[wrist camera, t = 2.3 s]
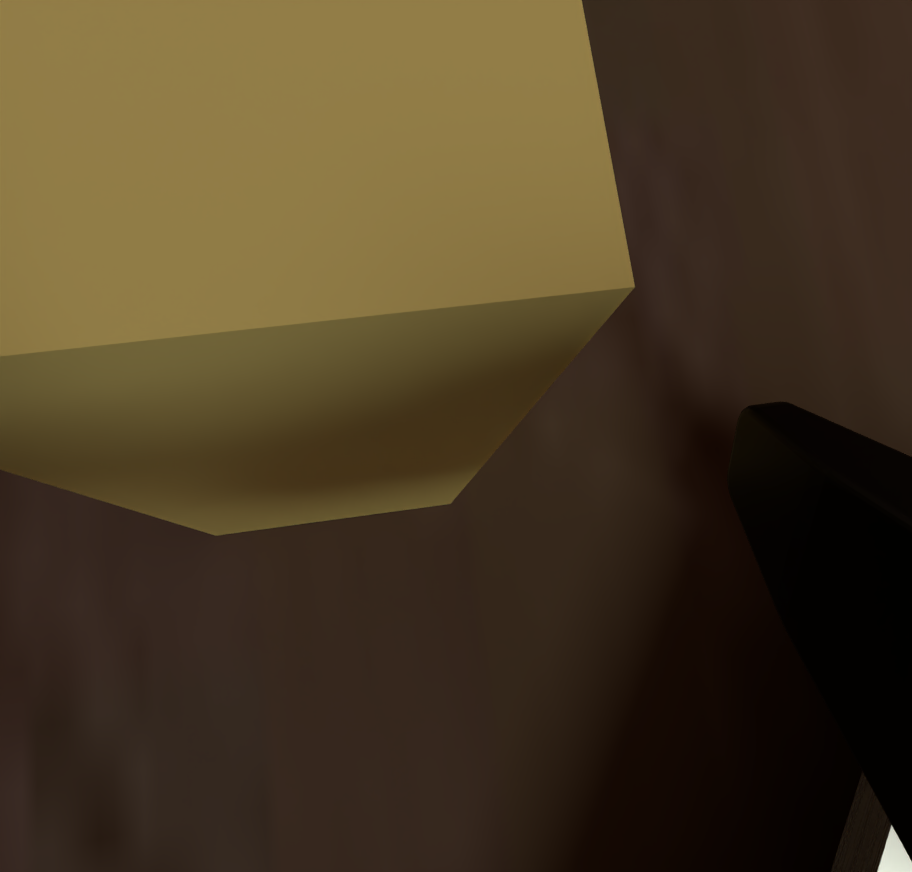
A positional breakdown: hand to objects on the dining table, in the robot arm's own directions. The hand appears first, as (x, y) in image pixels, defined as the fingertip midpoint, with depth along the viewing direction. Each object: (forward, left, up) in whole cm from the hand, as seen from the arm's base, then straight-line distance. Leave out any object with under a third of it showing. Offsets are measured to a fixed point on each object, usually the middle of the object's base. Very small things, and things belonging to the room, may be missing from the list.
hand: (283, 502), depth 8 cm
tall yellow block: (+3, +2, -10) cm, 11 cm away
